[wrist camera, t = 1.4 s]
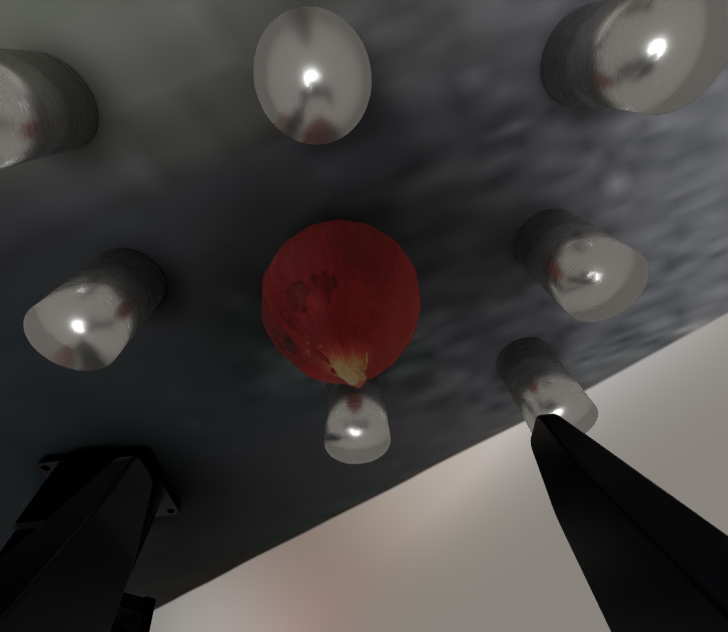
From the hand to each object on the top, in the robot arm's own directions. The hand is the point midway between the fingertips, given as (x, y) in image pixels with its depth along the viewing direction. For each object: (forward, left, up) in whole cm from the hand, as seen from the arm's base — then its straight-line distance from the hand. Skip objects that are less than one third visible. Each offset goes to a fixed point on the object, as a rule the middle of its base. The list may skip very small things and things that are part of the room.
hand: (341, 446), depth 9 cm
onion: (0, 0, -11) cm, 11 cm away
